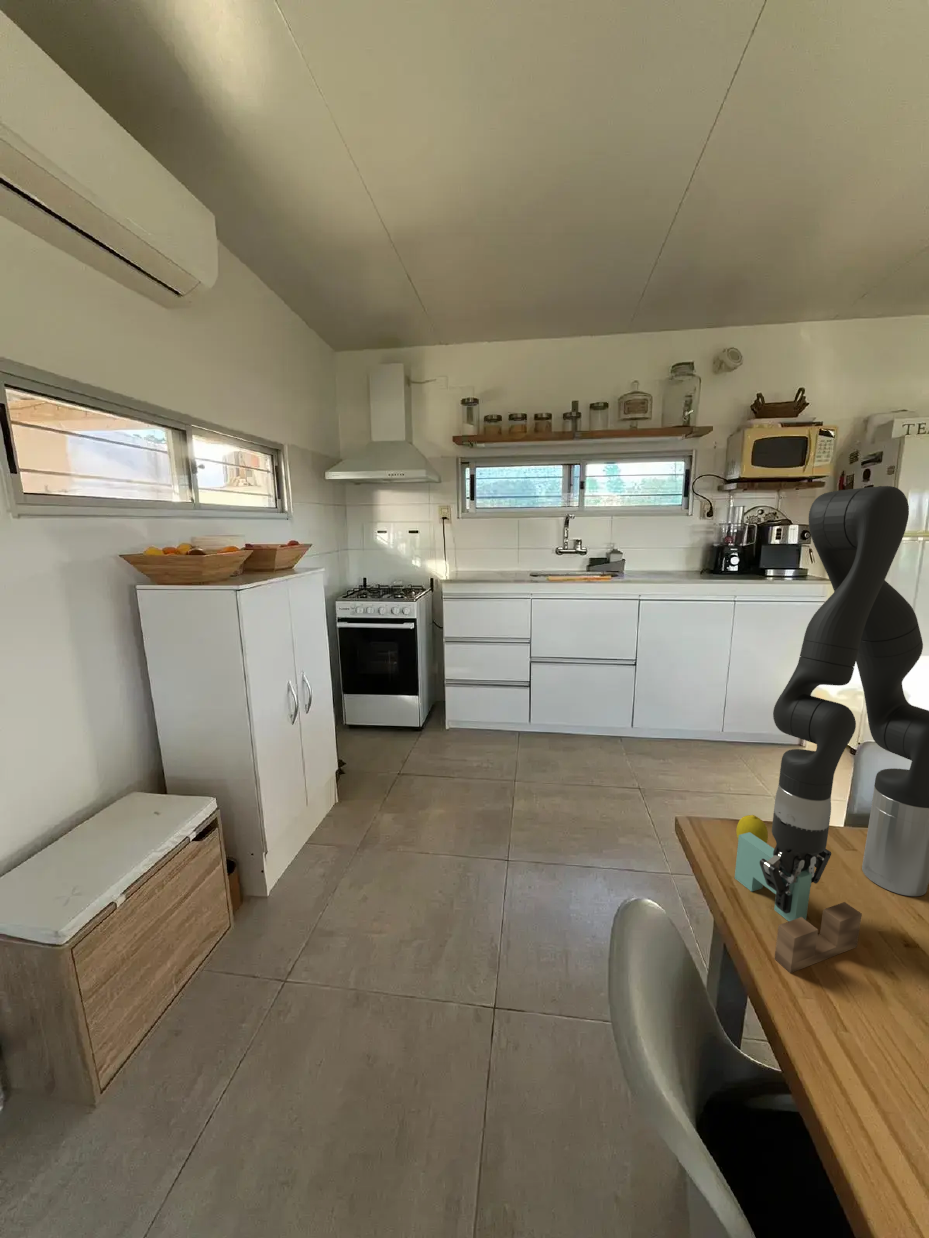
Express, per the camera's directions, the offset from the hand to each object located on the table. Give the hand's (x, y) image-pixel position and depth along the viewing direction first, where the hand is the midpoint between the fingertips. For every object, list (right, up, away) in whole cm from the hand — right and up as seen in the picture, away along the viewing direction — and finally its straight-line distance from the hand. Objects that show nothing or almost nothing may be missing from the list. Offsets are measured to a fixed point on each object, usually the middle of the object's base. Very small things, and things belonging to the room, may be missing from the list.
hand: (789, 906), depth 84 cm
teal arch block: (-1, -1, +4) cm, 4 cm away
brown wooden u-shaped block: (-1, -3, -7) cm, 8 cm away
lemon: (+3, +1, +17) cm, 17 cm away
